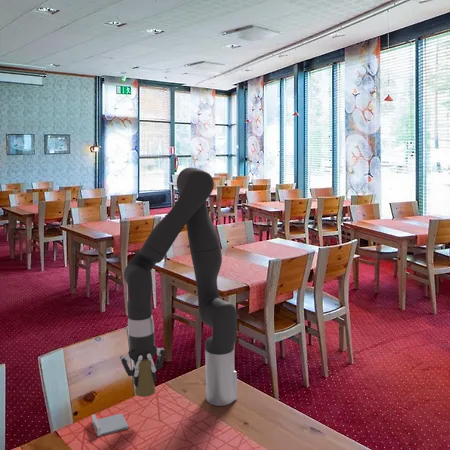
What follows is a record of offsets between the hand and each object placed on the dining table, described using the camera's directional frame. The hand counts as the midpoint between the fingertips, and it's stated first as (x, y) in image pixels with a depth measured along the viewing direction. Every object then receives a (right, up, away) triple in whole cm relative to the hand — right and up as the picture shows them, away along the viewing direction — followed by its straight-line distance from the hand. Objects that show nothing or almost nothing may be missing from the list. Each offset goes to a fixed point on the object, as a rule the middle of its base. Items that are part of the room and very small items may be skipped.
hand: (145, 384), depth 151 cm
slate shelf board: (-9, -11, -2) cm, 15 cm away
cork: (0, -2, 0) cm, 3 cm away
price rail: (-14, -12, -4) cm, 18 cm away
